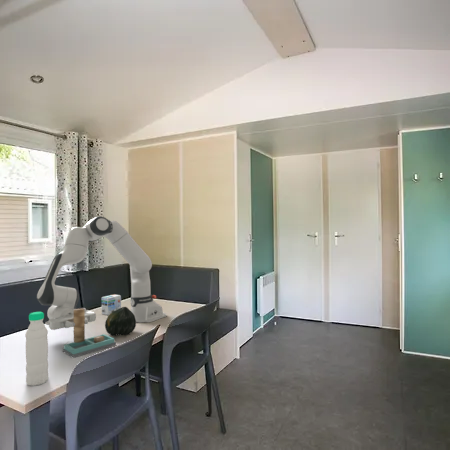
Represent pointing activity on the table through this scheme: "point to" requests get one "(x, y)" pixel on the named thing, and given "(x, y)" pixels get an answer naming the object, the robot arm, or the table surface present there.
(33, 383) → the water bottle
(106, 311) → the light bulb box
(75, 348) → the housing plate
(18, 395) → the table surface
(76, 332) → the oak post
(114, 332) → the squash
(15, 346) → the table surface
